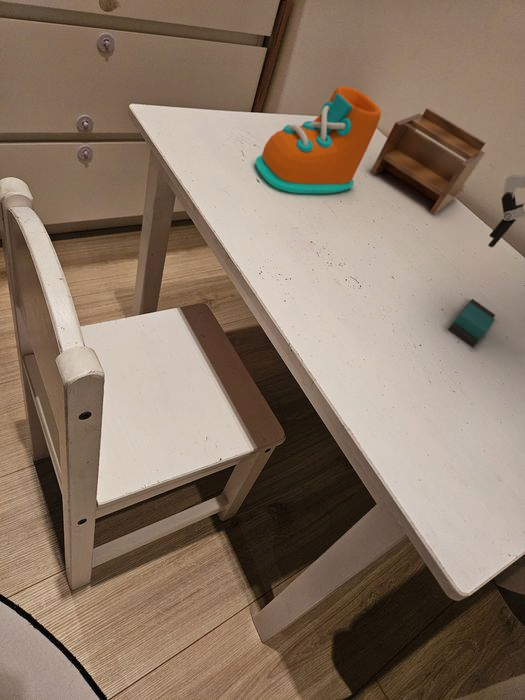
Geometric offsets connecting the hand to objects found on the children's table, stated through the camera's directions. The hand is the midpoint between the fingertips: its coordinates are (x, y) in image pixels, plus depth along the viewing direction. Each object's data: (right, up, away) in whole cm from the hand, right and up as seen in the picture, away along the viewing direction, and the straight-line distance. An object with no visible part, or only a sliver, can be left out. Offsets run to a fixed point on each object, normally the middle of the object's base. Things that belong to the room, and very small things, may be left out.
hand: (522, 263), depth 63 cm
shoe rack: (-4, +23, +35) cm, 42 cm away
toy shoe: (-28, +21, +24) cm, 43 cm away
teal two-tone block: (-3, -8, +9) cm, 13 cm away
